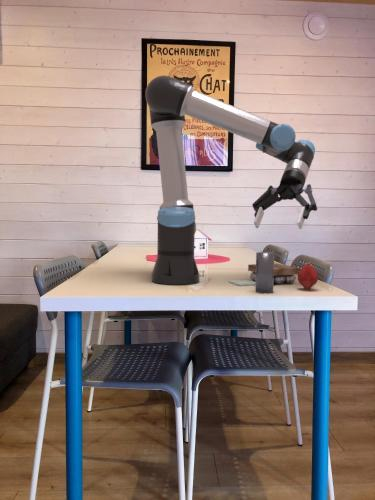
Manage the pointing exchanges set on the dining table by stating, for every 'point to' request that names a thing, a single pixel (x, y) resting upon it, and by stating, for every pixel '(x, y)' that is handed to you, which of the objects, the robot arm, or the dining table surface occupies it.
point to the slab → (278, 269)
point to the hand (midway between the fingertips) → (277, 225)
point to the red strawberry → (307, 276)
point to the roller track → (278, 278)
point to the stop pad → (242, 282)
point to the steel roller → (264, 272)
